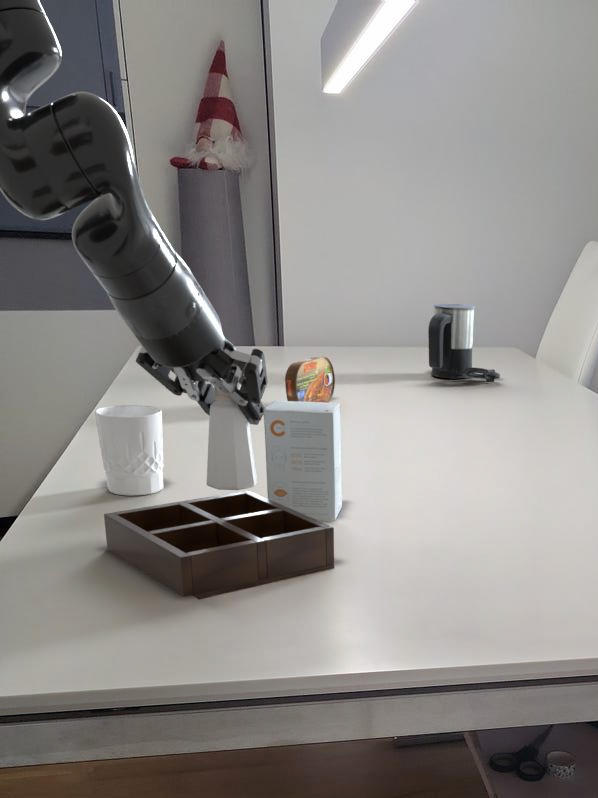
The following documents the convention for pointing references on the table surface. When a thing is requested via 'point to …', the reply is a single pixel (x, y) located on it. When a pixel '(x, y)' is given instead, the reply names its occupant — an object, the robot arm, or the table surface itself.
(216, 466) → the salt shaker
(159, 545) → the divided wooden tray
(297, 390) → the tin
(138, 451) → the white cup
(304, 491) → the small box
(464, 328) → the milk frother
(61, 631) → the table surface
